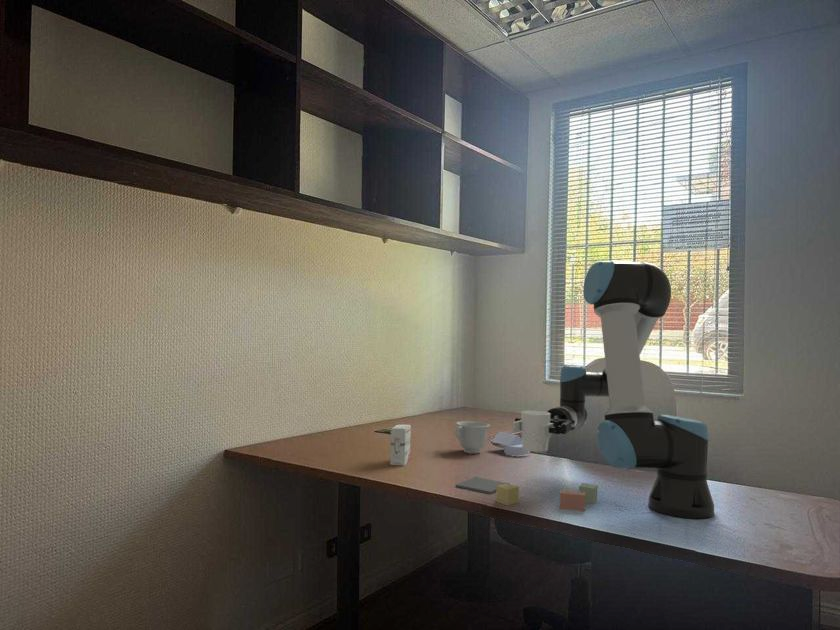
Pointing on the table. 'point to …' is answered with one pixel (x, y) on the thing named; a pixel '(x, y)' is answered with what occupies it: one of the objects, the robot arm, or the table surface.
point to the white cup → (534, 430)
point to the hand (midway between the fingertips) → (527, 429)
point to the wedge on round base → (510, 443)
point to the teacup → (471, 435)
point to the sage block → (589, 492)
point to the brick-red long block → (572, 500)
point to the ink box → (400, 444)
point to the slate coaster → (480, 485)
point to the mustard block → (507, 494)
